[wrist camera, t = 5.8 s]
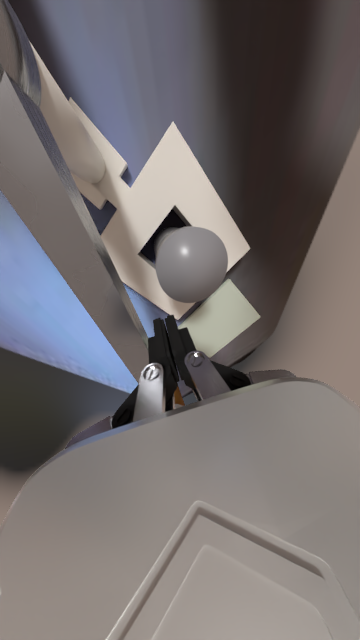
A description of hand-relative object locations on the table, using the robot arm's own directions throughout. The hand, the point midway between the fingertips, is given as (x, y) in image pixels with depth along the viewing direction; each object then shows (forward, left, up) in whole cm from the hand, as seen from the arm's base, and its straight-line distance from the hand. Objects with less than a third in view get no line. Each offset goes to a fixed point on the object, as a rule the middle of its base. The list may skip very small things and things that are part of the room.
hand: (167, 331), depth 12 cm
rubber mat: (-1, +15, -12) cm, 19 cm away
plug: (-5, -1, -12) cm, 13 cm away
